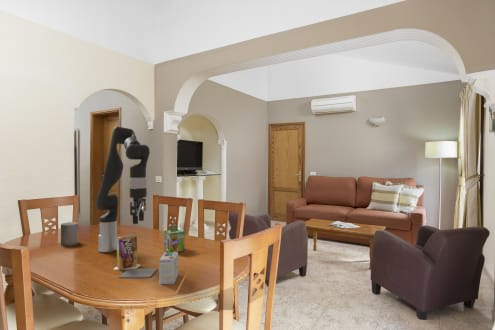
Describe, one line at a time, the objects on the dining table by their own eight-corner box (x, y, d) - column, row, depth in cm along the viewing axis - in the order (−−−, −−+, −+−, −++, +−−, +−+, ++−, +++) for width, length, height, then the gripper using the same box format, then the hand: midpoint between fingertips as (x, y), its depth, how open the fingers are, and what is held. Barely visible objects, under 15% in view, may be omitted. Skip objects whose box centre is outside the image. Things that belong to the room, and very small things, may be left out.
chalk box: (170, 254, 171) (170, 228, 171) (163, 250, 178) (163, 225, 178) (185, 251, 177) (185, 225, 177) (178, 247, 184) (177, 223, 184)
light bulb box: (163, 275, 139) (163, 251, 139) (178, 274, 139) (178, 251, 139) (158, 284, 128) (158, 259, 128) (174, 283, 129) (174, 258, 129)
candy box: (134, 263, 154) (134, 234, 154) (137, 265, 151) (137, 235, 151) (116, 267, 149) (116, 236, 148) (119, 269, 145) (118, 238, 145)
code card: (112, 269, 146) (112, 269, 146) (118, 264, 153) (118, 264, 153) (135, 269, 146) (135, 269, 146) (140, 264, 153) (140, 264, 153)
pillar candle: (57, 246, 189) (56, 222, 189) (71, 242, 198) (71, 219, 198) (68, 247, 185) (67, 223, 185) (82, 243, 194) (81, 220, 194)
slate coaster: (119, 277, 136) (119, 276, 136) (127, 270, 146) (127, 268, 146) (150, 277, 136) (150, 276, 136) (156, 269, 146) (156, 268, 146)
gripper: (135, 186, 148) (136, 219, 148) (123, 188, 133) (124, 225, 133) (150, 186, 148) (151, 219, 148) (140, 188, 133) (141, 225, 133)
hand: (138, 222), depth 141 cm, fingers open, 7 cm apart
